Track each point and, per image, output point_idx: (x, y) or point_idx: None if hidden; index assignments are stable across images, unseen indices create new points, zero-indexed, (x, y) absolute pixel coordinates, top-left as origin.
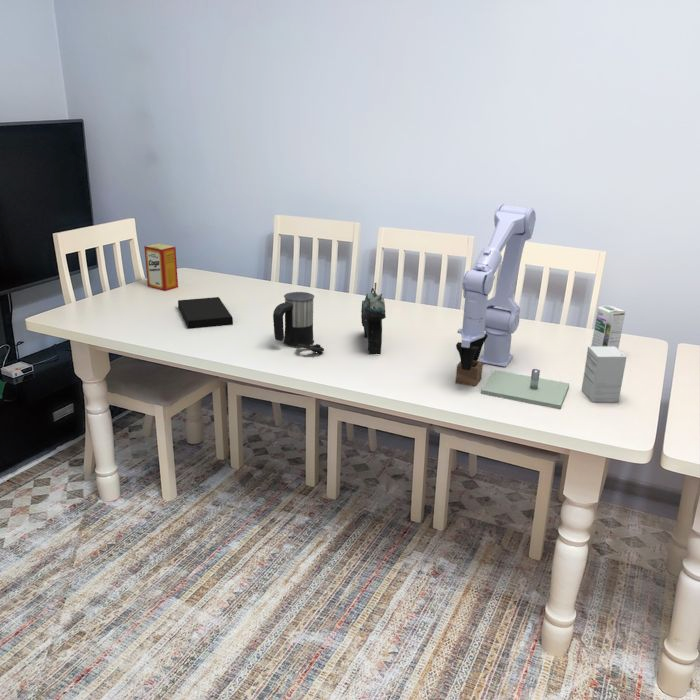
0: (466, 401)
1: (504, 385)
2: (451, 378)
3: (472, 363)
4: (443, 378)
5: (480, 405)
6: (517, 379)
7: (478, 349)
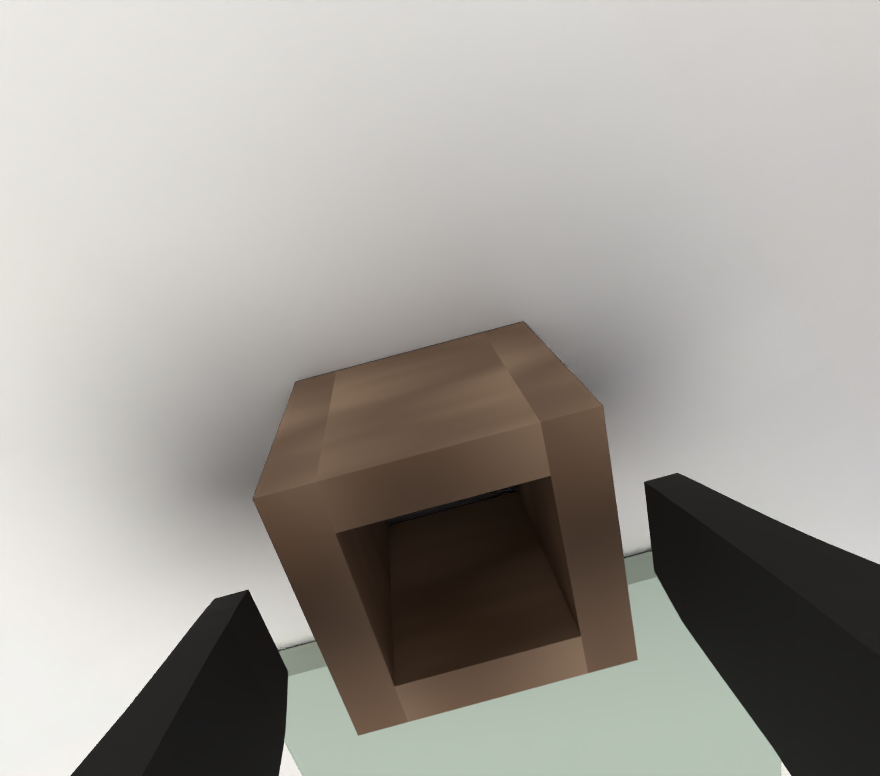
0: (13, 662)
1: (489, 744)
2: (368, 283)
3: (557, 551)
4: (296, 207)
5: (57, 755)
6: (669, 744)
7: (783, 735)
